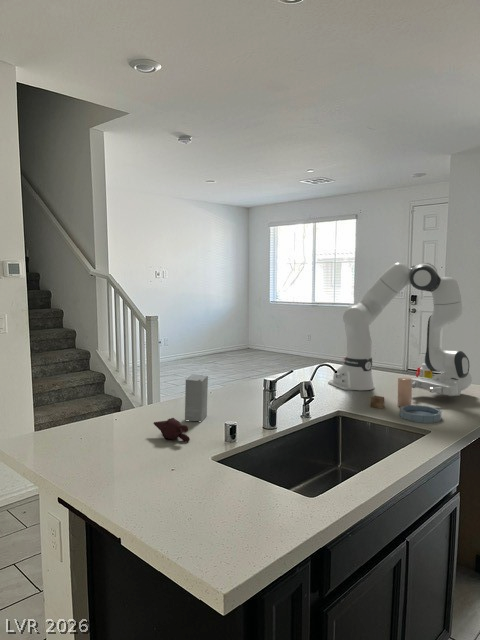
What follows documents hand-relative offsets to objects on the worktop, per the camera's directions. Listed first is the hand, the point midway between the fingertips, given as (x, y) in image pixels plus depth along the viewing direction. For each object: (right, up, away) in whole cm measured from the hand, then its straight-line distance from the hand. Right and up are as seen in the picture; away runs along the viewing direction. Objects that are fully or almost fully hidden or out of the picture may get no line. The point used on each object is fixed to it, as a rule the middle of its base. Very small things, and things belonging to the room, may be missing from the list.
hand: (421, 388), depth 193 cm
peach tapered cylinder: (-9, -6, -5) cm, 12 cm away
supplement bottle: (+14, -3, +31) cm, 34 cm away
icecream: (-97, -11, -41) cm, 106 cm away
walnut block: (-20, -7, -6) cm, 21 cm away
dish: (-8, -8, -19) cm, 22 cm away
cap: (+18, -2, +44) cm, 48 cm away
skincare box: (-90, -9, -20) cm, 93 cm away
